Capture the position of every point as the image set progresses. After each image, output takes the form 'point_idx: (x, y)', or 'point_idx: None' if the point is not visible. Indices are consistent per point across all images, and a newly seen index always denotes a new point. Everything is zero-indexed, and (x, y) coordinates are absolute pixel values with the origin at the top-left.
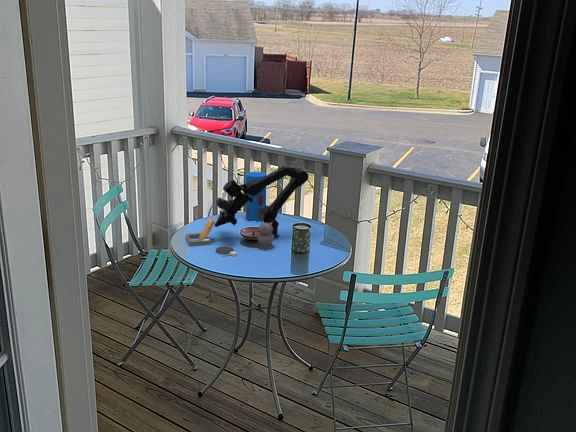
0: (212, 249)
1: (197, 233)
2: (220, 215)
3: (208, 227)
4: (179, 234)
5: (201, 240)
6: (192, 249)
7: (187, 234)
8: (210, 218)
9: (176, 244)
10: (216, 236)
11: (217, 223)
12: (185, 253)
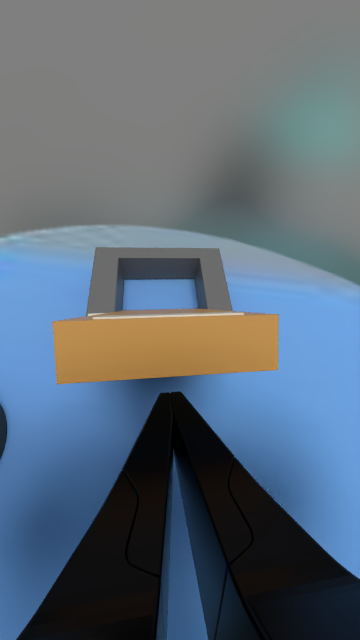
0: (43, 374)
1: (221, 298)
2: (252, 621)
3: (104, 314)
4: (272, 255)
5: (102, 305)
6: (86, 279)
7: (210, 253)
8: (217, 316)
9: (163, 234)
10: (252, 427)
11: (142, 434)
12: (52, 250)
